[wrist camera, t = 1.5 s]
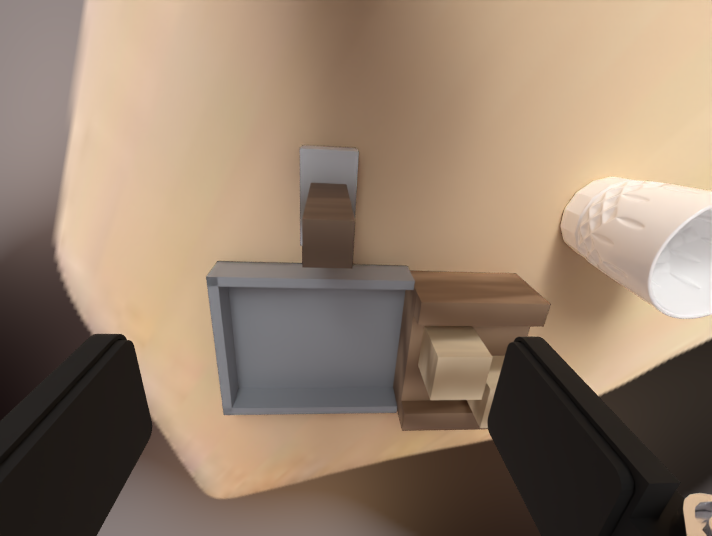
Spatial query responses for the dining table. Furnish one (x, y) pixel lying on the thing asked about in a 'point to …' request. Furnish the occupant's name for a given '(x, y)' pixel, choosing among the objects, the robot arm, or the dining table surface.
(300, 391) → the tray
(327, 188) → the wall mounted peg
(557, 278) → the dining table surface
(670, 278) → the white cup
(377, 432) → the dining table surface
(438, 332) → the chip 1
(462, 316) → the slot block
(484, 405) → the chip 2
